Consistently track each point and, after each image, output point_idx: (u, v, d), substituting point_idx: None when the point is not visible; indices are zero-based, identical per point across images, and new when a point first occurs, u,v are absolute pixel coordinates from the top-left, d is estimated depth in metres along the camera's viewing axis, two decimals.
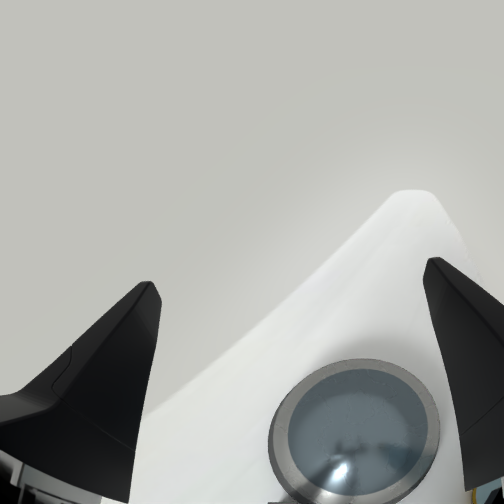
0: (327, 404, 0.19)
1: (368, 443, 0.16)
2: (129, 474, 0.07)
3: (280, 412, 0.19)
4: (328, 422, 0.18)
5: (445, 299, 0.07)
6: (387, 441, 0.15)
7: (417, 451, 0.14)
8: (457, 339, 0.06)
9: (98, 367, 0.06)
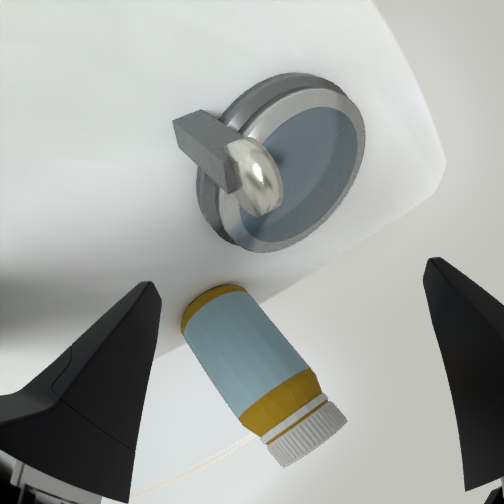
0: (333, 141, 0.18)
1: (291, 192, 0.19)
2: (129, 474, 0.07)
3: (332, 94, 0.15)
4: (316, 146, 0.17)
5: (445, 299, 0.07)
6: (289, 208, 0.20)
7: (274, 237, 0.21)
8: (457, 339, 0.06)
9: (98, 367, 0.06)
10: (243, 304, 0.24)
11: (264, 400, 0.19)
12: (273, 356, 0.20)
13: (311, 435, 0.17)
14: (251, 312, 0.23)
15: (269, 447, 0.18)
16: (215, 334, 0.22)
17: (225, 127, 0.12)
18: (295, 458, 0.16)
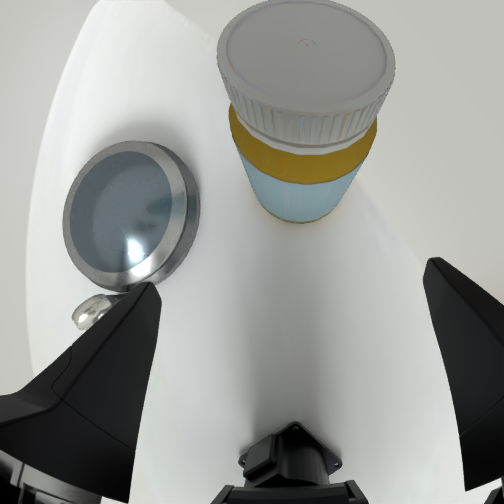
0: (85, 210, 0.22)
1: (126, 215, 0.22)
2: (129, 474, 0.07)
3: (65, 241, 0.22)
4: (93, 222, 0.22)
5: (445, 299, 0.07)
6: (139, 204, 0.22)
7: (167, 196, 0.21)
8: (457, 339, 0.06)
9: (98, 367, 0.06)
10: None
11: (270, 173, 0.13)
12: (241, 158, 0.15)
13: (246, 108, 0.09)
14: None
15: (346, 136, 0.10)
16: (277, 208, 0.19)
17: None
18: (302, 116, 0.08)
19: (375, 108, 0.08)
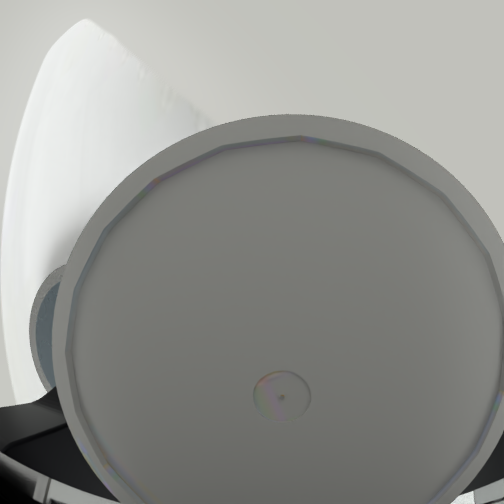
0: (50, 344, 0.17)
1: None
2: None
3: (38, 373, 0.17)
4: None
5: None
6: None
7: None
8: None
9: None
10: None
11: None
12: None
13: None
14: None
15: None
16: None
17: None
18: None
19: None
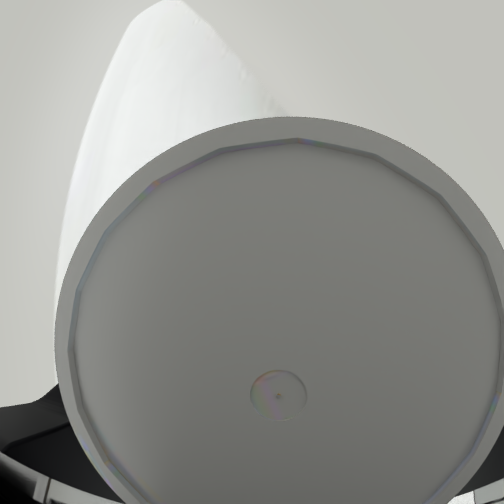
0: None
1: None
2: None
3: None
4: None
5: None
6: None
7: None
8: None
9: None
10: None
11: None
12: None
13: None
14: None
15: None
16: None
17: None
18: None
19: None
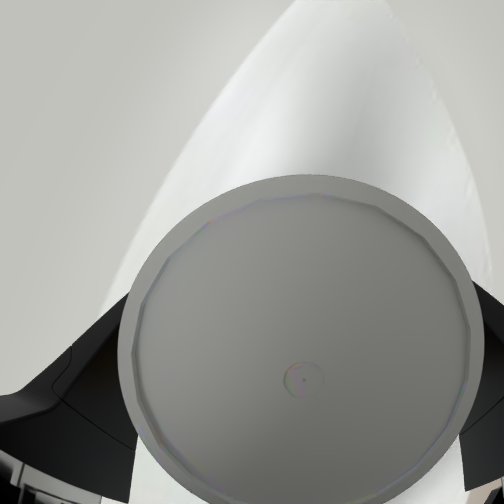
0: None
1: None
2: (129, 474, 0.07)
3: None
4: None
5: None
6: None
7: None
8: None
9: (98, 367, 0.06)
10: None
11: None
12: None
13: None
14: None
15: None
16: None
17: None
18: None
19: None
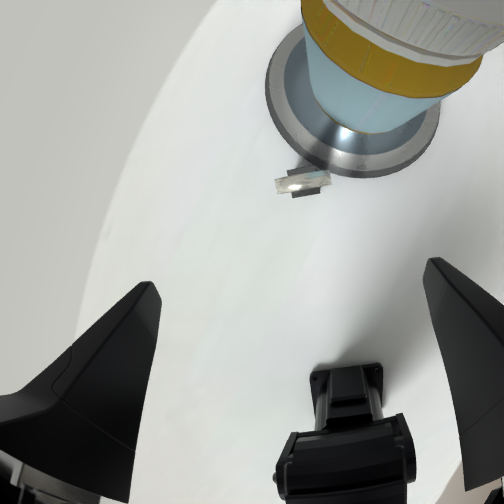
0: None
1: None
2: (129, 474, 0.07)
3: (271, 72, 0.18)
4: None
5: (445, 299, 0.07)
6: None
7: (420, 113, 0.16)
8: (457, 339, 0.06)
9: (98, 367, 0.06)
10: (310, 80, 0.15)
11: (367, 80, 0.08)
12: (313, 59, 0.10)
13: None
14: (309, 72, 0.14)
15: (480, 52, 0.04)
16: (350, 118, 0.14)
17: None
18: (456, 17, 0.03)
19: None
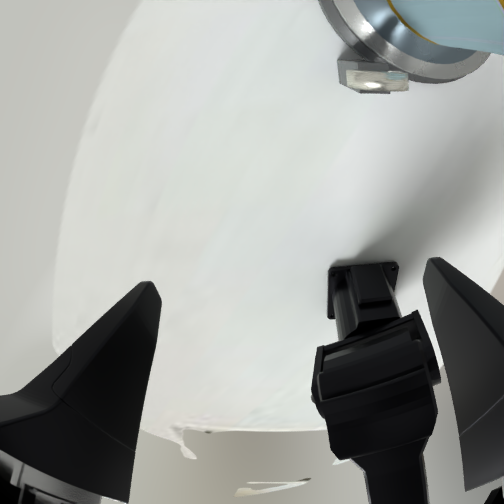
0: None
1: None
2: (129, 474, 0.07)
3: None
4: None
5: (445, 299, 0.07)
6: None
7: None
8: (457, 339, 0.06)
9: (98, 367, 0.06)
10: None
11: None
12: None
13: None
14: None
15: None
16: (438, 29, 0.09)
17: (346, 63, 0.13)
18: None
19: None
